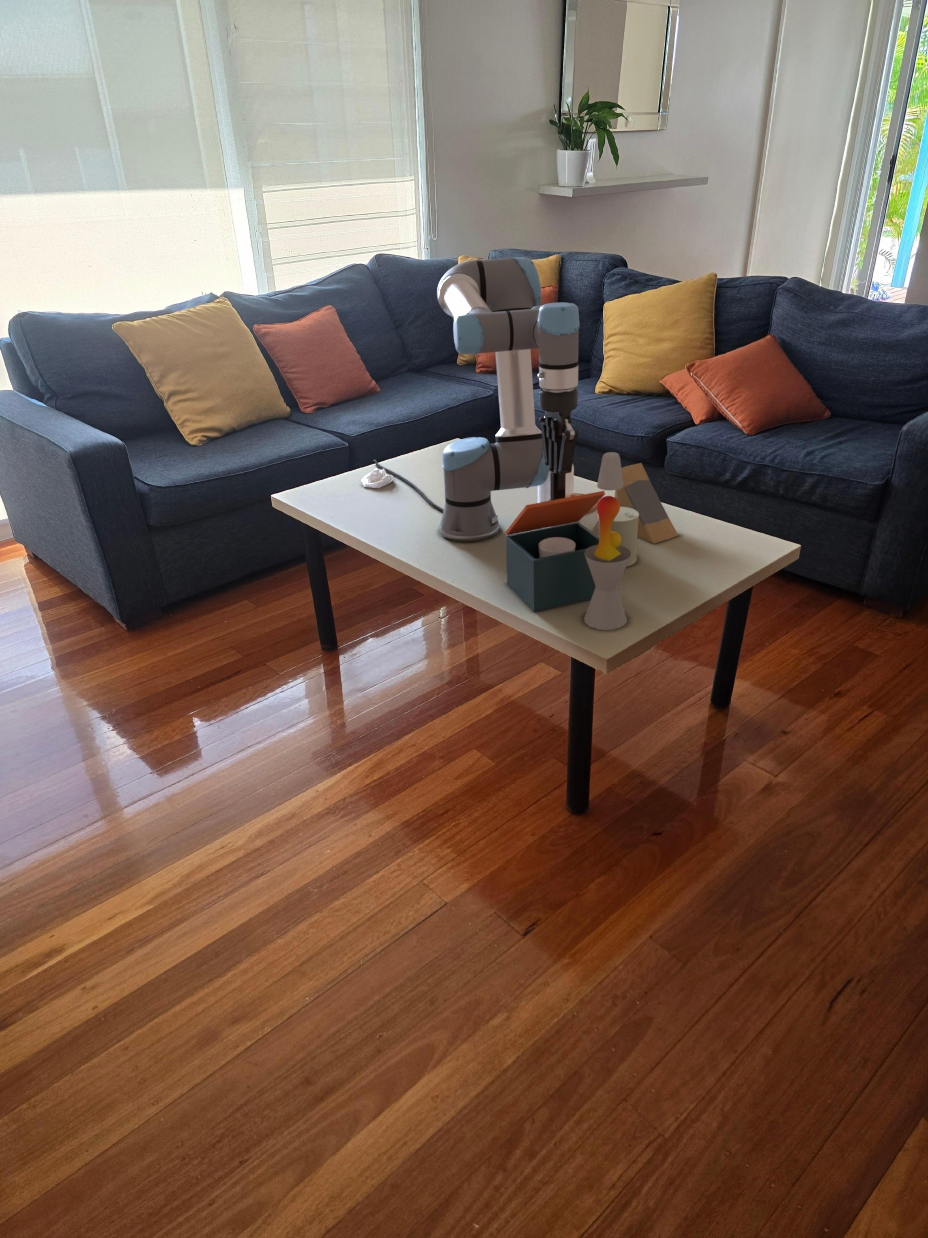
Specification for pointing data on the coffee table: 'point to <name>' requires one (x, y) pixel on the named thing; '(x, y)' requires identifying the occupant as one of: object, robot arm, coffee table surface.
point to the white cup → (555, 546)
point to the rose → (377, 479)
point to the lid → (554, 512)
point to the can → (627, 530)
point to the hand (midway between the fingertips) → (557, 502)
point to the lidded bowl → (589, 517)
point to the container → (550, 567)
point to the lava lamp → (607, 553)
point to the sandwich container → (644, 505)
